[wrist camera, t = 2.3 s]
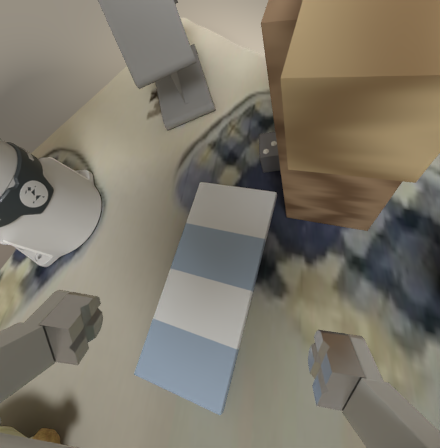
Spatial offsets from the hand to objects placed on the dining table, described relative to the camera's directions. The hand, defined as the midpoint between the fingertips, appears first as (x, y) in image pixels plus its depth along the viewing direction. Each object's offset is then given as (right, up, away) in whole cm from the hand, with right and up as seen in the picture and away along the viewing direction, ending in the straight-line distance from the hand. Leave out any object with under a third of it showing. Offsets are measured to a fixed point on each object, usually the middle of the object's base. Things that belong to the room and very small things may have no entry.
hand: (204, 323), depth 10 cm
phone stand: (-7, +30, +42) cm, 52 cm away
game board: (-1, -4, +26) cm, 27 cm away
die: (+9, +13, +30) cm, 34 cm away
